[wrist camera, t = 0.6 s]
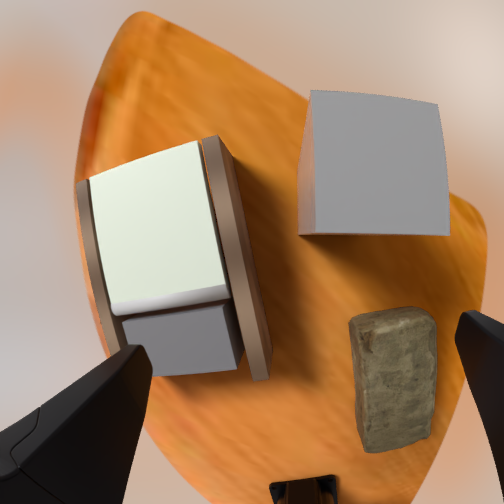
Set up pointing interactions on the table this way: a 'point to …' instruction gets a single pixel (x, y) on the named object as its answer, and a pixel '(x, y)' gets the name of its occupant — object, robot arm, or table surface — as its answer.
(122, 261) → the trapdoor flap
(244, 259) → the frame
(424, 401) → the stone block
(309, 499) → the robot arm
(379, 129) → the granite pillar
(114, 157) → the table surface
